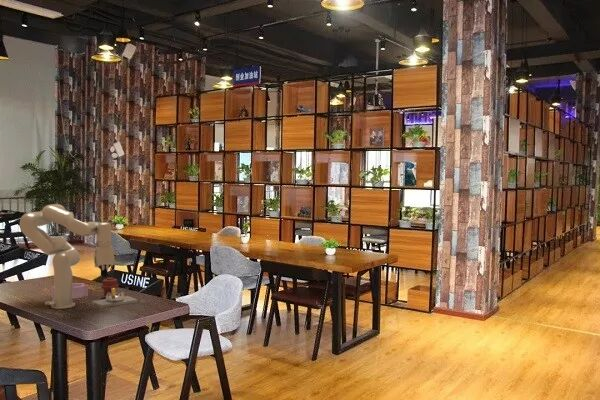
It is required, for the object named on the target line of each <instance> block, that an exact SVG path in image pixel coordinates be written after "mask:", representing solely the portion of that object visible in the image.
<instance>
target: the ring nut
mask: <svg viewBox="0 0 600 400" xmlns="http://www.w3.org/2000/svg"><path fill="white" fill-rule="evenodd" d="M124 296H125V292H123V291H120V292H119V293H118V291H116V292H115V288H111V293H110V292H109V293H107V294H106V297H105V299H106V301H107V302H120V301H123V300H124Z"/></svg>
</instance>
